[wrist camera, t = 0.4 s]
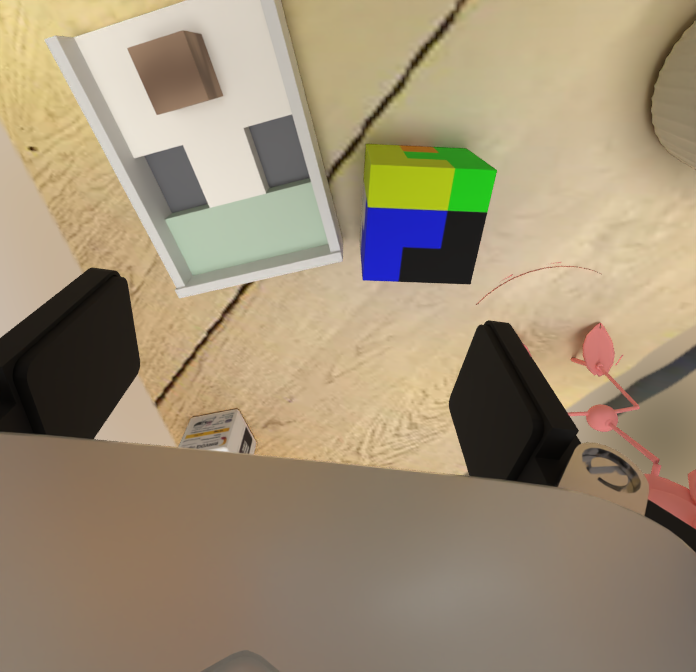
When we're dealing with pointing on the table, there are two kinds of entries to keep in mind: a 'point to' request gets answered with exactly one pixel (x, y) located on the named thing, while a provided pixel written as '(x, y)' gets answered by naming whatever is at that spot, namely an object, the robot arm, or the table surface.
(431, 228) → the puzzle toy
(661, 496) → the figurine
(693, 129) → the canister
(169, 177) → the tray
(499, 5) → the table surface
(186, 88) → the walnut block
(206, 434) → the container
